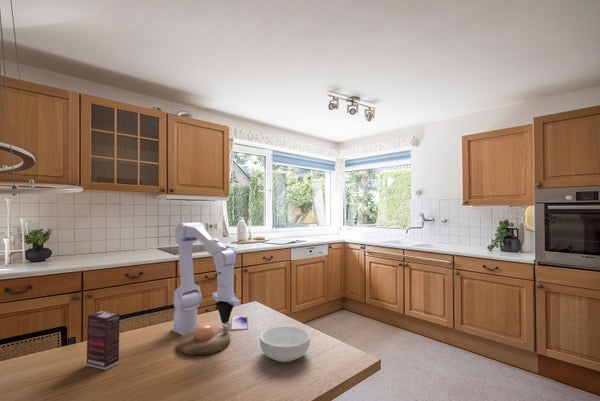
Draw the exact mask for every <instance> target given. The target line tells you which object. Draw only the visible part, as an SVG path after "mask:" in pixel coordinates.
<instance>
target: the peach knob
mask: <svg viewBox="0 0 600 401" xmlns="http://www.w3.org/2000/svg"><path fill="white" fill-rule="evenodd" d="M214 327H215V324H214V323H212V322H210V321H208V322H200V323H197V325H195V326H194V340H196V341H207V340H210V339H212V338H213V337H214Z"/></svg>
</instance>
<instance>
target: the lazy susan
mask: <svg viewBox="0 0 600 401" xmlns="http://www.w3.org/2000/svg"><path fill="white" fill-rule="evenodd" d="M223 325H224V324H223ZM230 342H231V333H230V330H229V325H224V326H222V328H221V327H215V326H214V337H213V338H212V339H210V340H207V341H196V340H194V330H193V331H190V332H188V333H186V334H184V335H181V336H180V337H179V338H178V343H177V344H178V345H177V346H178V347H177V348H178V350H179V352H181V353H183V354H186V355H190V356H203V355H209V354H213V353H216V352H220V351H221V350H223V349H225V348H226V347H228V345H230Z"/></svg>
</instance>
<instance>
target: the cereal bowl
mask: <svg viewBox="0 0 600 401" xmlns="http://www.w3.org/2000/svg"><path fill="white" fill-rule="evenodd" d="M310 339H311V335H310V334H309V332H308V331H307V330H305V329H303V328H301V327H297V326H289V325H288V326H285V325H282V326H276V327H275V326H274V327H271V328H268V329H266V330H264V331H262V333H260V335H259V345H260V348H261V351H262V352H263V354H264V355H265V356H266V357H267V358H270V359H272V360H275V361H276V362H279V363H289V362H293V361H294V360H297V359H299V358H301V357H303V356H304V355H305V354H306V353H307V352H308V350H309V347H310Z"/></svg>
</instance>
